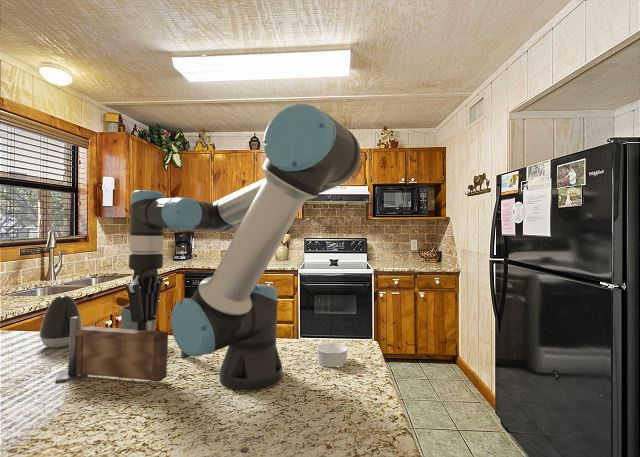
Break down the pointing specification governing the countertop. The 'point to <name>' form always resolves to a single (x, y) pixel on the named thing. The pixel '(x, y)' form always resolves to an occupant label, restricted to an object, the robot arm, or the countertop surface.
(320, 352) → the ramekin
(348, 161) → the robot arm
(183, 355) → the post
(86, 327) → the gate
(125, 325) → the teal cylindrical container
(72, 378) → the hinge post
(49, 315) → the dark grey egg shape
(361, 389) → the countertop surface
